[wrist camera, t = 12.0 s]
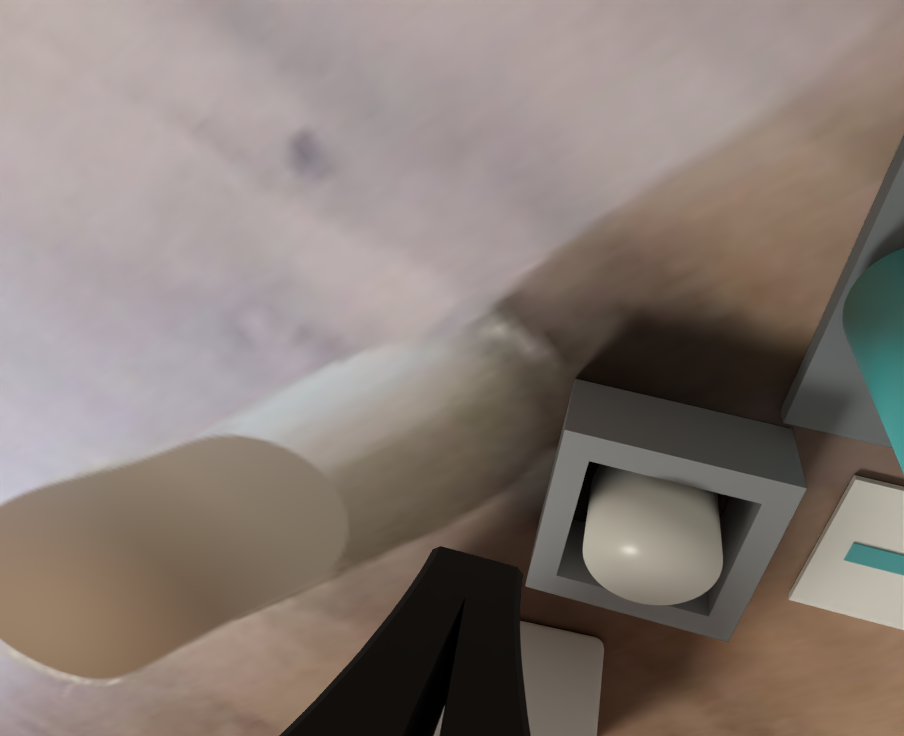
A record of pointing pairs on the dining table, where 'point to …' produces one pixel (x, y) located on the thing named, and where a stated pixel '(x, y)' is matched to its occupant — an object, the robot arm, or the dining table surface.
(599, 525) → the button
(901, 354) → the marker
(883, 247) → the board
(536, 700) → the medicine bottle
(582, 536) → the button box
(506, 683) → the robot arm
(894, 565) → the card
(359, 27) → the dining table surface
